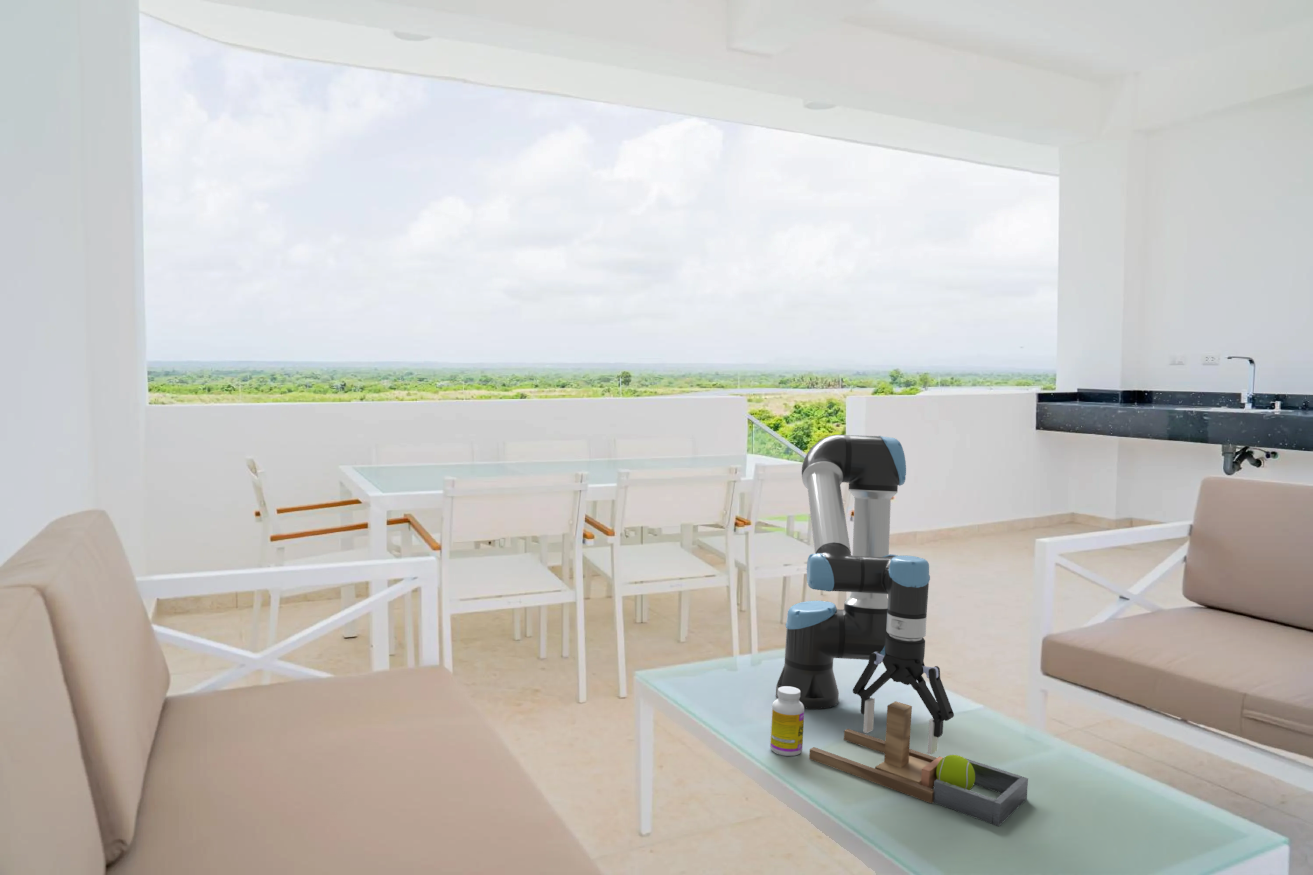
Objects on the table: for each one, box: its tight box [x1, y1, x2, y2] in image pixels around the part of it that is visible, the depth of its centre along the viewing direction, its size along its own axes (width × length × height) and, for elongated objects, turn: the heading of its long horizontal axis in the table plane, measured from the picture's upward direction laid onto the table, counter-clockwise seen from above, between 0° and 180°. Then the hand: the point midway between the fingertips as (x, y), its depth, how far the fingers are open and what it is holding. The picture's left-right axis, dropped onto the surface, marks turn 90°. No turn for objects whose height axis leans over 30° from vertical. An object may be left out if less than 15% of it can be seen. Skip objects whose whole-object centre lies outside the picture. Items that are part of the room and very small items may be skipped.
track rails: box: [808, 728, 937, 804], centre depth 173 cm, size 16×26×2 cm, turn 48°
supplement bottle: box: [769, 686, 805, 757], centre depth 179 cm, size 7×7×13 cm
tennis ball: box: [936, 754, 975, 791], centre depth 163 cm, size 7×7×7 cm
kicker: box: [874, 700, 944, 789], centre depth 169 cm, size 10×10×13 cm
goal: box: [932, 757, 1029, 827], centre depth 160 cm, size 14×12×4 cm
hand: (899, 741), depth 171 cm, fingers open, 13 cm apart
